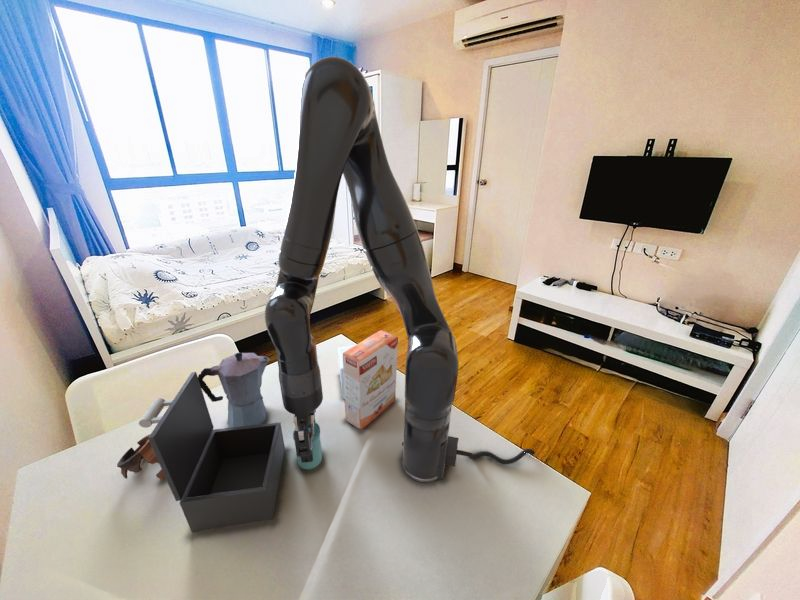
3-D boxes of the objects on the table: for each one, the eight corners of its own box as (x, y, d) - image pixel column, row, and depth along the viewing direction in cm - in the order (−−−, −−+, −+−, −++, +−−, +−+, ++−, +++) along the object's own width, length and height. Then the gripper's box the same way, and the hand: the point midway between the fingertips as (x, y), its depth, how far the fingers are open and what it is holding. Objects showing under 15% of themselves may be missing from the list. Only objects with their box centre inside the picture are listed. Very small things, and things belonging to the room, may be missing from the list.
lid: (196, 371, 61) (165, 374, 60) (153, 437, 47) (113, 442, 46) (213, 427, 67) (186, 430, 66) (181, 500, 53) (146, 505, 52)
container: (327, 453, 72) (324, 423, 69) (316, 475, 68) (312, 444, 64) (305, 448, 74) (301, 418, 70) (292, 468, 69) (287, 438, 65)
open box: (285, 450, 73) (280, 422, 69) (273, 521, 59) (265, 490, 55) (221, 458, 71) (212, 429, 67) (192, 534, 57) (179, 502, 53)
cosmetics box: (339, 375, 98) (337, 346, 93) (360, 372, 99) (359, 344, 95) (342, 399, 88) (339, 368, 84) (365, 395, 90) (364, 365, 85)
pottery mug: (152, 497, 63) (118, 473, 60) (139, 488, 69) (107, 466, 66) (203, 442, 71) (175, 418, 68) (187, 438, 77) (161, 416, 74)
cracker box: (362, 432, 78) (359, 362, 69) (344, 421, 81) (340, 352, 72) (397, 401, 88) (399, 335, 79) (380, 391, 91) (380, 328, 83)
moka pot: (283, 421, 81) (272, 355, 72) (214, 449, 73) (193, 378, 64) (273, 398, 88) (262, 336, 79) (209, 422, 80) (189, 355, 71)
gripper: (319, 407, 56) (326, 470, 63) (322, 359, 68) (328, 416, 75) (274, 412, 54) (286, 476, 61) (286, 362, 67) (295, 420, 74)
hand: (309, 443), depth 68 cm, fingers open, 8 cm apart
